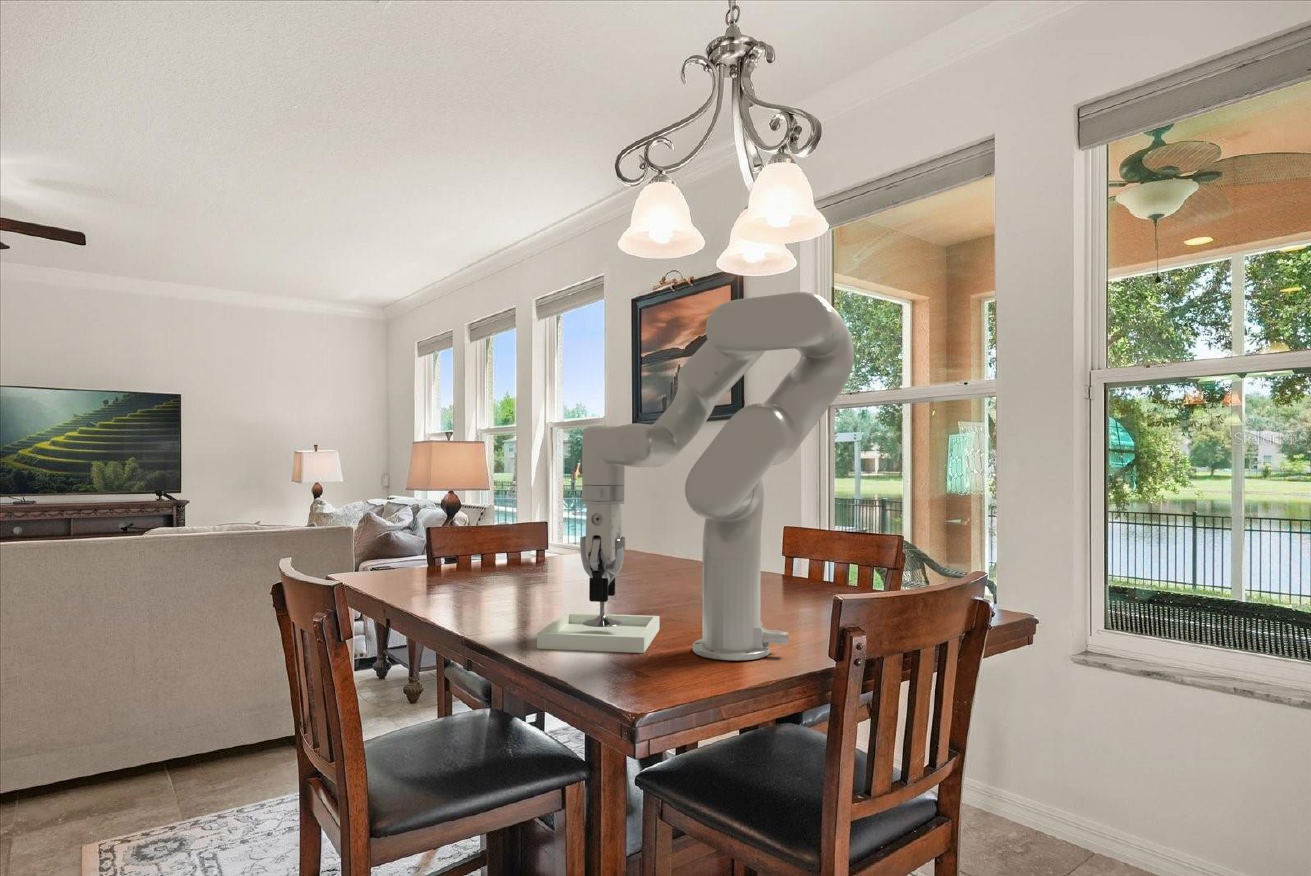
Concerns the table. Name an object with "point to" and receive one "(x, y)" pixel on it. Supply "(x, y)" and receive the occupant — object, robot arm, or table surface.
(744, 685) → the table surface
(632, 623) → the tray
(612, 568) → the wine glass
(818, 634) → the table surface
